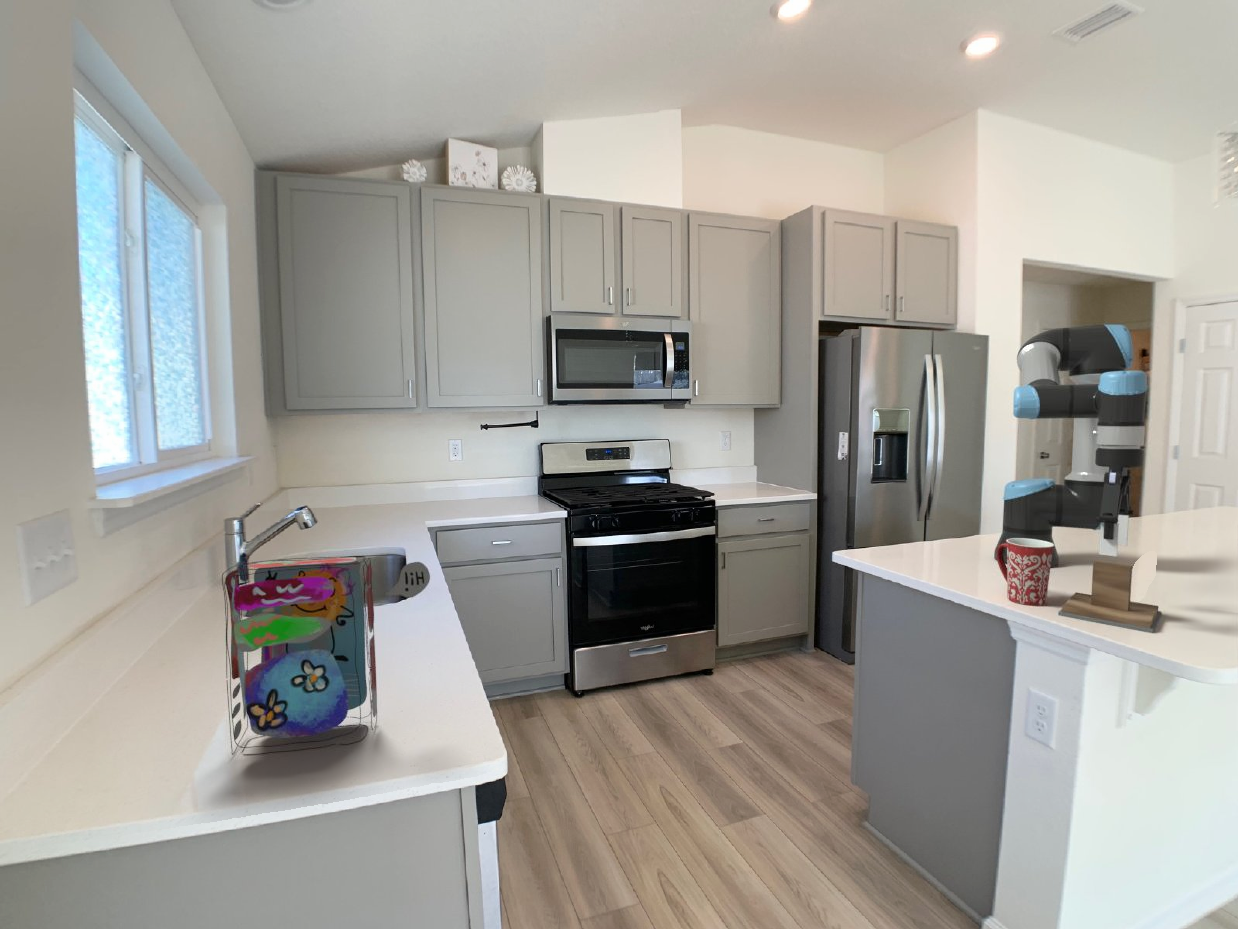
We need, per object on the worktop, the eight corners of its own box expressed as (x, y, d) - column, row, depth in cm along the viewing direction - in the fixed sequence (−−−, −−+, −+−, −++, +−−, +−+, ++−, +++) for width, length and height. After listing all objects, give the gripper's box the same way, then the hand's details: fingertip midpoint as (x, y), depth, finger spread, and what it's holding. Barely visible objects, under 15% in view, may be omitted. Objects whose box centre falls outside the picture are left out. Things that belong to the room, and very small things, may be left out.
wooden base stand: (1075, 597, 137) (1077, 553, 136) (1158, 611, 127) (1161, 563, 126) (1061, 612, 128) (1064, 564, 127) (1149, 628, 118) (1153, 576, 117)
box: (437, 713, 90) (431, 549, 87) (434, 734, 84) (426, 559, 81) (249, 734, 84) (237, 561, 82) (231, 759, 78) (218, 572, 76)
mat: (1073, 599, 138) (1073, 596, 138) (1161, 614, 127) (1161, 611, 127) (1058, 615, 128) (1058, 612, 128) (1152, 633, 117) (1153, 630, 117)
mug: (1062, 605, 134) (1065, 545, 132) (1026, 608, 132) (1029, 547, 131) (1015, 589, 146) (1017, 534, 145) (982, 592, 144) (984, 535, 143)
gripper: (1106, 444, 136) (1101, 539, 137) (1084, 449, 118) (1079, 556, 120) (1150, 445, 130) (1145, 543, 132) (1134, 450, 113) (1128, 563, 115)
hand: (1113, 550), depth 126 cm, fingers open, 13 cm apart
